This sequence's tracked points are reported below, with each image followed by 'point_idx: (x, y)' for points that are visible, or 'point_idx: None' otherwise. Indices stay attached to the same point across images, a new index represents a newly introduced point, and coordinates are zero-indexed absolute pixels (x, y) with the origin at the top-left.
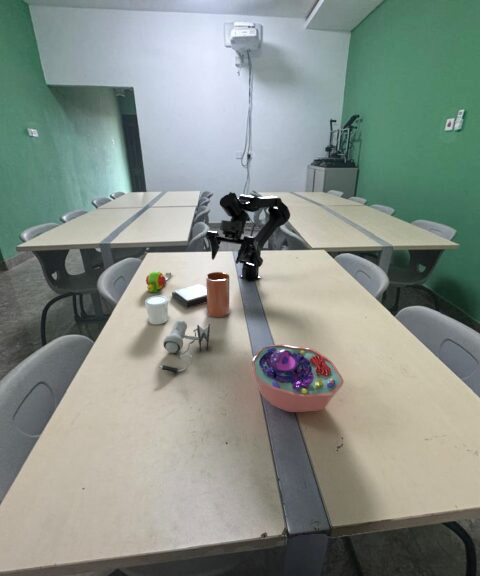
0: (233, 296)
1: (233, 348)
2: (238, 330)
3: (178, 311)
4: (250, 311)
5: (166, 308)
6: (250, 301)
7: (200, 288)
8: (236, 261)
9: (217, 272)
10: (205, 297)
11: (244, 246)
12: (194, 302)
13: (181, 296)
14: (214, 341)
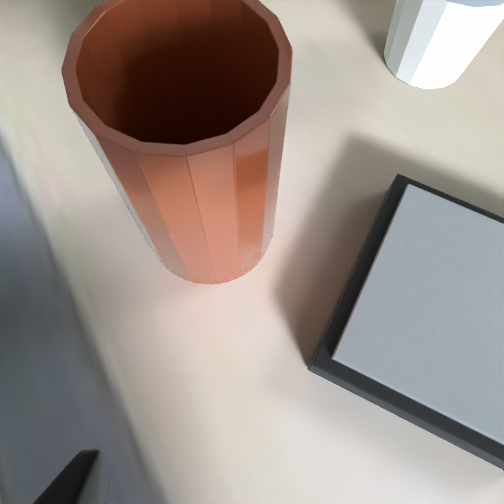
0: (219, 470)
1: (27, 18)
2: (45, 122)
3: (403, 148)
4: (35, 312)
5: (401, 5)
6: (72, 449)
7: (464, 377)
8: (79, 457)
9: (228, 133)
10: (348, 283)
11: None
12: (376, 219)
13: (481, 215)
14: None
